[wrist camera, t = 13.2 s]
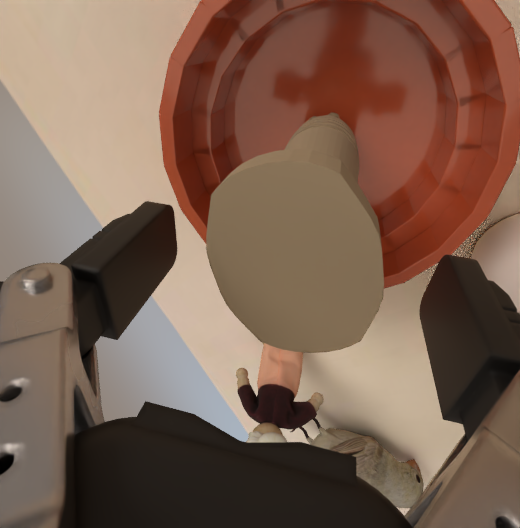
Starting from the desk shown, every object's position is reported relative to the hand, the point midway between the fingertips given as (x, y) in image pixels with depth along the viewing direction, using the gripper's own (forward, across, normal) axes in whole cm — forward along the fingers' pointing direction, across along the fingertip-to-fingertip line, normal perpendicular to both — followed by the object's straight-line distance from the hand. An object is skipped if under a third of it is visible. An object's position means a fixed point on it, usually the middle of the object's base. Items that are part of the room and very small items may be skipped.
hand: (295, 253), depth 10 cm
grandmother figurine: (+15, 0, +20) cm, 25 cm away
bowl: (+15, 0, 0) cm, 15 cm away
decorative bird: (+15, -10, +33) cm, 38 cm away
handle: (+14, 0, 0) cm, 14 cm away
